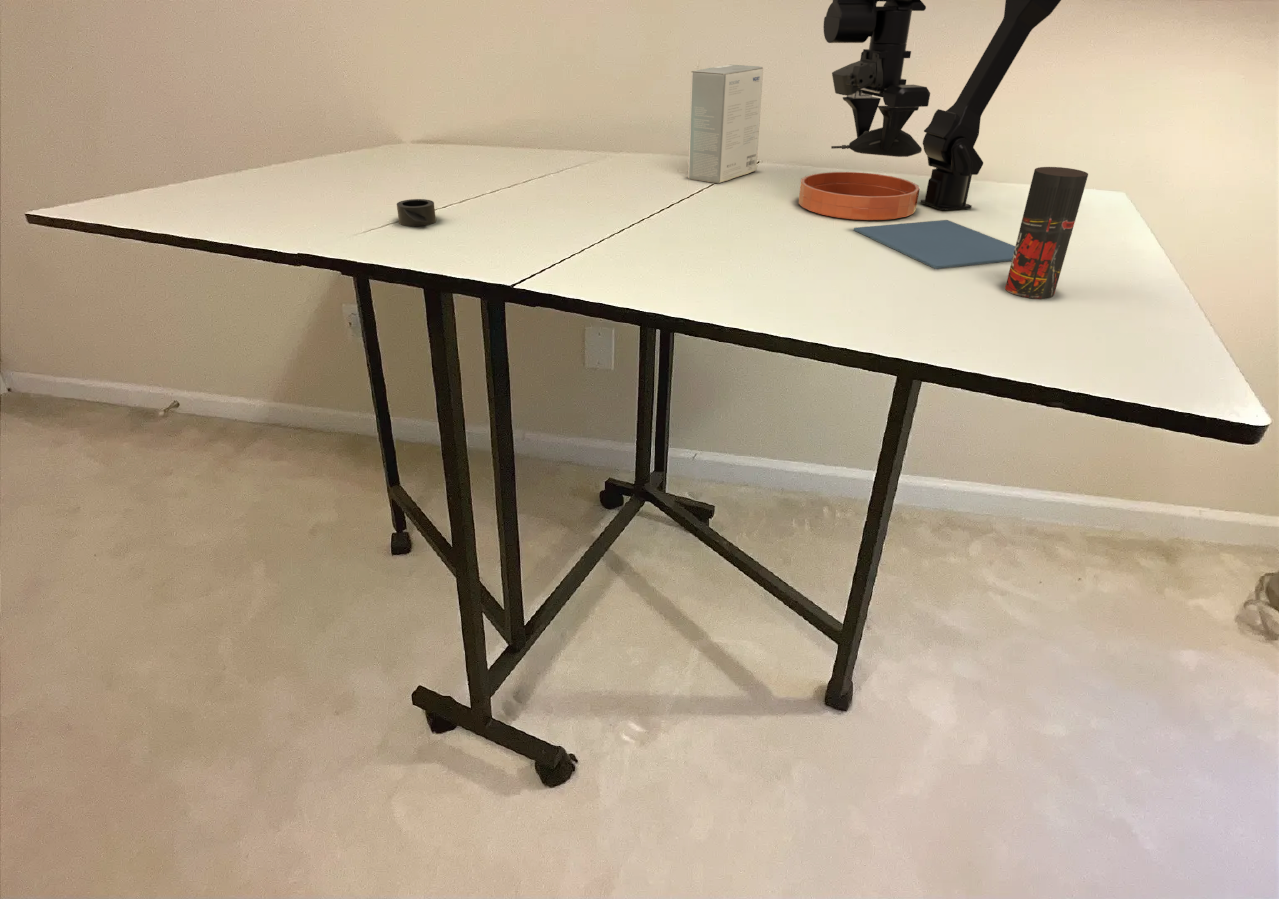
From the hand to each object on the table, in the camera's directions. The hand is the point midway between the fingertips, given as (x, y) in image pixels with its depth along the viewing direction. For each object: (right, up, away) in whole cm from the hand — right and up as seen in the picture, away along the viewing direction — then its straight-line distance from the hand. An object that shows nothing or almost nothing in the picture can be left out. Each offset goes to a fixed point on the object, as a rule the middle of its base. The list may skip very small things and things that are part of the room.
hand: (872, 146), depth 136 cm
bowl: (-1, -8, +7) cm, 11 cm away
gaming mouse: (+1, -1, +1) cm, 1 cm away
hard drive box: (-22, +5, +29) cm, 37 cm away
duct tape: (-75, -14, -6) cm, 77 cm away
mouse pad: (+7, -20, -12) cm, 24 cm away
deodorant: (+11, -31, -31) cm, 45 cm away
